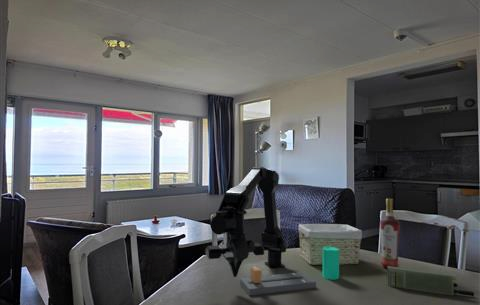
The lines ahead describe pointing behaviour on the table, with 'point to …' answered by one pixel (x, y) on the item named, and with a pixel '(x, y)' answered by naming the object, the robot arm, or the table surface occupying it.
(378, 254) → the table surface
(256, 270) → the fader knob
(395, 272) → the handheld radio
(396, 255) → the liquor
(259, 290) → the fader panel
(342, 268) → the table surface
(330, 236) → the storage basket
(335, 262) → the candle
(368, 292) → the table surface
